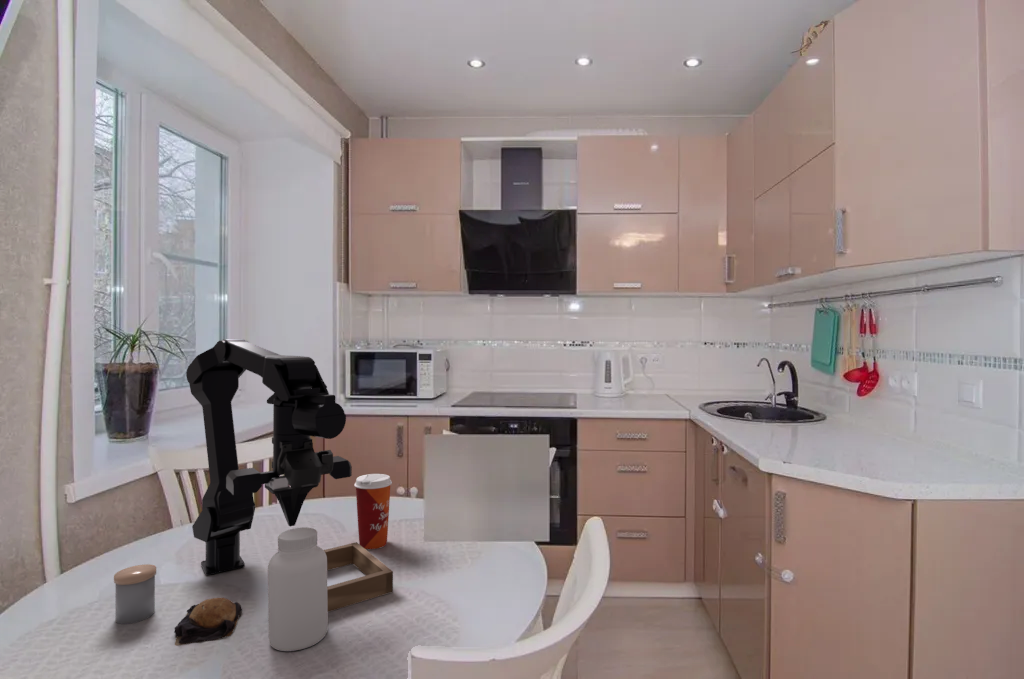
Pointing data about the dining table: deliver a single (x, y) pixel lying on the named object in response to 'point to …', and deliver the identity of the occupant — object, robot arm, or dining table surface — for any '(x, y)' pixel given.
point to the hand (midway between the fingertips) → (291, 525)
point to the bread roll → (208, 621)
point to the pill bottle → (297, 591)
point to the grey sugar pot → (135, 593)
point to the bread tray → (359, 588)
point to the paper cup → (373, 509)
